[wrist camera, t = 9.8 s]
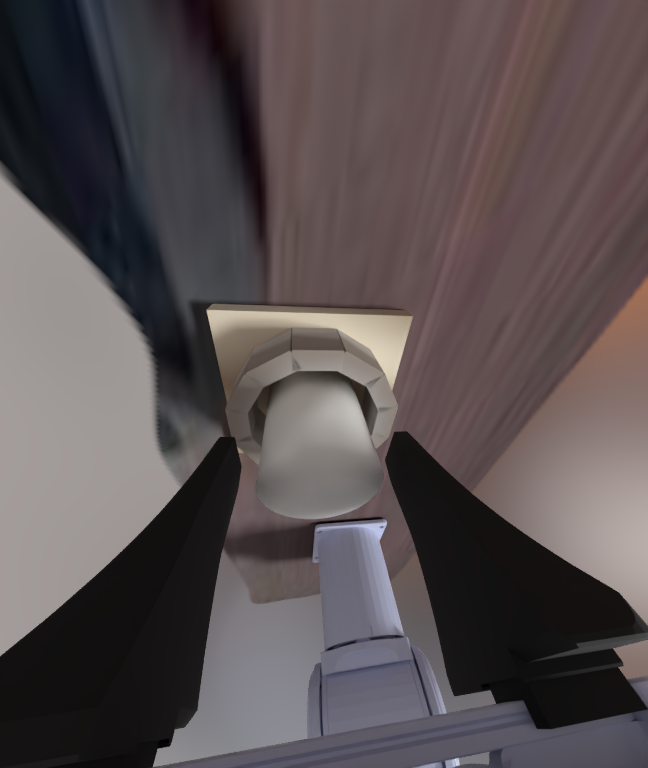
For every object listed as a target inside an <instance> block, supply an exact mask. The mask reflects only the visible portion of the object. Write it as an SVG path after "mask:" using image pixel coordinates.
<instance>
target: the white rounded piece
mask: <svg viewBox="0 0 648 768" xmlns="http://www.w3.org/2000/svg"><path fill="white" fill-rule="evenodd" d="M383 477H384V474H383V469H382V466H381V463H380V461H379V458H378V455H377V452H376V449H375V446H374V444H373V441H372V438H371V435H370V432H369V430H368V427H367V424H366V421H365V418H364V416H363V413H362V410H361V407H360V404H359V401H358V399H357V396H356V393H355V390H354V387H353V385H352V382H351V379H350V378H349V377H347V376H346V375H344V374H342V373H340V372H338V371H296V372H294V373H292V374H290V375H288V376H286V377H284V378H282V379H280V380H278V381H276V382H274V383H272V384H271V387H270V394H269V400H268V407H267V414H266V420H265V427H264V434H263V441H262V447H261V454H260V461H259V467H258V474H257V481H256V493H257V496H258V498H259V500H260V501H261V502H262V503H263V504H264V505H265V506H266V507H267V508H269V509H270V510H272V511H274V512H276V513H278V514H281V515H284V516H288V517H292V518H299V519H321V518H328V517H333V516H338V515H341V514H344V513H347V512H350V511H352V510H354V509H357V508H359V507H360V506H362V505H364V504H365V503H367V502H368V501H369V500H370V499H372V498H373V497H374V496H375V495H376V493H377V492H378V491H379V489H380V488H381V485H382V483H383Z"/></svg>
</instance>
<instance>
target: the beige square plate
mask: <svg viewBox="0 0 648 768" xmlns="http://www.w3.org/2000/svg"><path fill="white" fill-rule="evenodd" d="M207 315H208V319H209V324H210V328H211V333H212V337H213V342H214V346H215V351H216V355H217V360H218V364H219V369H220V373H221V378H222V382H223V387H224V391H225V396H226V400H227V405H226V408H225V412H226V416H227V420H228V425H229V429H230V433H231V437H235V439H236V444H237V448H238V453H245V454H246V455H247V456H249V457H250V458H251V459H252V460H253V461H254V462H255V463H257V464H258V465H259V461H260V454H261V447H262V441H263V434H264V427H265V420H266V414H267V407H268V400H269V394H270V387H271V384H272V383H274V382H276V381H278V380H280V379H282V378H284V377H286V376H288V375H290V374H292V373H294V372H296V371H338V372H340V373H342V374H344V375H346V376H347V377H349V378H350V379H351V382H352V385H353V387H354V390H355V393H356V396H357V399H358V401H359V404H360V407H361V410H362V413H363V416H364V418H365V421H366V424H367V427H368V430H369V432H370V435H371V438H372V441H373V444H374V446H375V449H376V448H377V447H379V446H380V445H381V444H382V443H383V442H384V441H385V440H386V439H387V438H388V437H389V434H390V431H391V428H392V425H393V421H394V418H395V415H396V412H397V409H398V404H397V402H396V400H395V397H394V395H393V392H392V389H393V385H394V382H395V378H396V375H397V371H398V367H399V364H400V360H401V357H402V353H403V350H404V346H405V343H406V339H407V335H408V332H409V328H410V325H411V321H412V318H413V316H412V315H411V314H410V313H408V312H407V311H406V310H386V309H356V308H326V307H296V306H266V305H236V304H212V305H211V306H210V307H209V308H208V309H207Z"/></svg>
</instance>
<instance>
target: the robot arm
mask: <svg viewBox="0 0 648 768" xmlns="http://www.w3.org/2000/svg"><path fill="white" fill-rule="evenodd" d="M385 461H386V465H387V469H388V473H389V477H390V481H391V483H392V486H393V489H394V491H395V494H396V497H397V499H398V502H399V504H400V507H401V509H402V512H403V514H404V517H405V520H406V522H407V525H408V527H409V530H410V533H411V535H412V538H413V541H414V544H415V548H416V551H417V555H418V558H419V561H420V565H421V568H422V572H423V575H424V579H425V583H426V586H427V590H428V594H429V598H430V602H431V606H432V610H433V614H434V618H435V622H436V627H437V631H438V636H439V640H440V645H441V649H442V653H443V658H444V663H445V668H446V673H447V677H448V679H449V683H450V686H451V689H452V692H453V694H454V696H460V695H465V694H471V693H476V692H482V691H488V690H491V692H492V694H493V697H494V699H495V702H496V704H493V705H488V706H482V707H477V708H472V709H466V710H461V711H456V712H450V713H446V709H445V707H444V703H443V700H442V697H441V694H440V691H439V687H438V685H437V682H436V679H435V676H434V673H433V671H432V668H431V666H430V663H429V661H428V659H427V657H426V655H425V654H424V653H423V652H421V651H420V650H419V648H418V647H417V646H411V647H410V644H409V640H408V637H404V633H403V629H402V625H401V622H400V618H399V614H398V610H397V606H396V603H395V599H394V595H393V591H392V588H391V584H390V580H389V576H388V572H387V568H386V565H385V561H384V557H383V553H382V549H381V546H380V542H379V541H380V538H381V536H382V534H383V532H384V529H385V527H386V525H387V522H386V520H384V519H379V520H366V521H353V522H340V523H327V524H318V525H316V526H315V533H314V545H313V557H312V561H313V562H314V563H317V562H319V574H320V588H321V603H322V617H323V630H324V631H323V632H324V646H325V652H321V663H317V664H316V665H315V668H314V671H313V673H312V675H311V677H310V681H309V687H308V703H307V732H308V739H304V740H299V741H293V742H288V743H282V744H277V745H272V746H267V747H261V748H255V749H250V750H245V751H239V752H234V753H228V754H223V755H217V756H212V757H207V758H201V759H196V760H190V761H185V762H179V763H174V764H169V765H163V766H158V767H153V764H154V760H155V756H156V752H157V749H158V748H163V747H169V746H170V745H171V742H172V738H173V734H174V730H175V729H179V728H184V727H185V726H186V725H187V724H188V723H189V721H190V720H191V718H192V717H193V716H194V714H195V712H196V711H197V708H198V700H199V692H200V685H201V677H202V670H203V663H204V655H205V648H206V641H207V635H208V628H209V622H210V615H211V609H212V603H213V597H214V591H215V585H216V579H217V574H218V568H219V563H220V558H221V553H222V549H223V545H224V541H225V537H226V533H227V530H228V526H229V522H230V518H231V515H232V511H233V507H234V503H235V500H236V496H237V492H238V487H239V480H240V473H241V462H240V458H239V453H238V448H237V444H236V439H235V437H220V438H219V439H218V440H217V441H216V443H215V444H214V446H213V447H212V448H211V450H210V451H209V453H208V454H207V455H206V457H205V458H204V459H203V461H202V462H201V463H200V465H199V466H198V467H197V469H196V470H195V471H194V472H193V474H192V475H191V476H190V478H189V479H188V480H187V481H186V483H185V484H184V485H183V486H182V487H181V489H180V490H179V491H178V492H177V493H176V495H175V496H174V497H173V498H172V499H171V500H170V502H169V503H168V504H167V505H166V506H165V507H164V508H163V510H162V511H161V512H160V513H159V514H158V515H157V516H156V517H155V518H154V519H153V520H152V521H151V522H150V524H149V525H148V526H147V527H146V528H145V529H144V530H143V531H142V532H141V533H140V534H139V535H138V536H137V537H136V538H135V539H134V540H133V541H132V542H131V543H130V544H129V545H128V546H127V547H126V548H125V549H124V550H123V551H122V552H120V554H118V556H116V557H115V558H114V559H113V560H112V561H111V562H110V563H109V564H108V565H107V566H106V567H105V568H104V569H103V570H101V571H100V572H99V573H98V574H97V575H96V576H95V577H94V578H93V579H91V580H90V581H89V582H88V583H87V584H86V585H85V586H83V587H82V588H81V589H80V590H79V591H78V592H77V593H76V594H74V595H73V596H72V597H71V598H70V599H69V600H67V601H66V602H65V603H64V604H63V605H62V606H61V607H60V608H58V609H57V610H56V611H55V612H54V613H52V614H51V615H50V616H49V617H48V618H47V619H45V620H44V621H43V622H42V623H41V624H39V625H38V626H37V627H36V628H34V629H33V630H32V631H31V632H30V633H28V634H27V635H26V636H25V637H23V638H22V639H21V640H20V641H18V642H17V643H16V644H15V645H14V646H12V647H11V648H10V649H9V650H8V651H6V652H5V653H4V654H2V655H1V656H0V768H648V676H643V677H638V678H632V679H626V678H625V676H624V675H623V674H622V672H621V671H620V669H619V668H618V667H620V666H623V662H622V661H621V659H620V658H619V657H618V655H617V654H616V652H615V651H614V650H613V648H616V647H620V646H624V645H628V644H632V643H636V642H640V641H644V640H648V625H647V624H646V623H645V622H644V621H643V620H642V619H641V617H640V616H639V615H638V614H637V613H636V612H635V610H634V609H633V608H632V607H631V606H630V605H629V604H628V602H627V601H626V600H625V599H624V598H623V597H622V596H621V595H620V593H619V592H617V591H615V590H613V589H612V588H610V587H609V586H607V585H605V584H603V583H602V582H600V581H599V580H597V579H595V578H593V577H592V576H590V575H588V574H587V573H585V572H583V571H582V570H580V569H578V568H576V567H575V566H573V565H572V564H570V563H568V562H567V561H565V560H563V559H562V558H560V557H559V556H557V555H556V554H554V553H553V552H551V551H550V550H548V549H547V548H545V547H543V546H542V545H540V544H539V543H537V542H536V541H535V540H533V539H532V538H530V537H529V536H527V535H526V534H524V533H523V532H522V531H520V530H518V529H517V528H516V527H514V526H513V525H512V524H510V523H509V522H507V521H506V520H504V519H503V518H502V517H501V516H499V515H498V514H497V513H495V512H494V511H493V510H492V509H490V508H489V507H488V506H487V505H485V504H484V503H483V502H482V501H480V500H479V499H478V498H477V497H475V496H474V495H473V494H472V493H471V492H469V491H468V490H467V489H466V488H465V487H464V486H463V485H461V484H460V483H459V482H458V481H457V480H456V479H455V478H454V477H453V476H451V475H450V474H449V473H448V472H447V471H446V470H445V469H444V468H443V467H442V466H441V465H440V464H439V463H438V462H437V461H436V460H435V459H434V458H433V457H432V456H431V455H430V454H429V453H428V452H427V451H426V450H425V449H424V448H423V447H422V446H421V445H420V444H419V443H418V442H417V441H416V440H415V439H414V438H413V437H412V436H411V435H410V434H409V433H408V432H407V431H405V432H394V435H393V438H392V441H391V444H390V447H389V450H388V453H387V456H386V459H385ZM485 752H490V753H489V758H490V761H489V765H487V764H463V765H460V763H459V758H461V757H466V756H471V755H475V754H480V753H485Z"/></svg>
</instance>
